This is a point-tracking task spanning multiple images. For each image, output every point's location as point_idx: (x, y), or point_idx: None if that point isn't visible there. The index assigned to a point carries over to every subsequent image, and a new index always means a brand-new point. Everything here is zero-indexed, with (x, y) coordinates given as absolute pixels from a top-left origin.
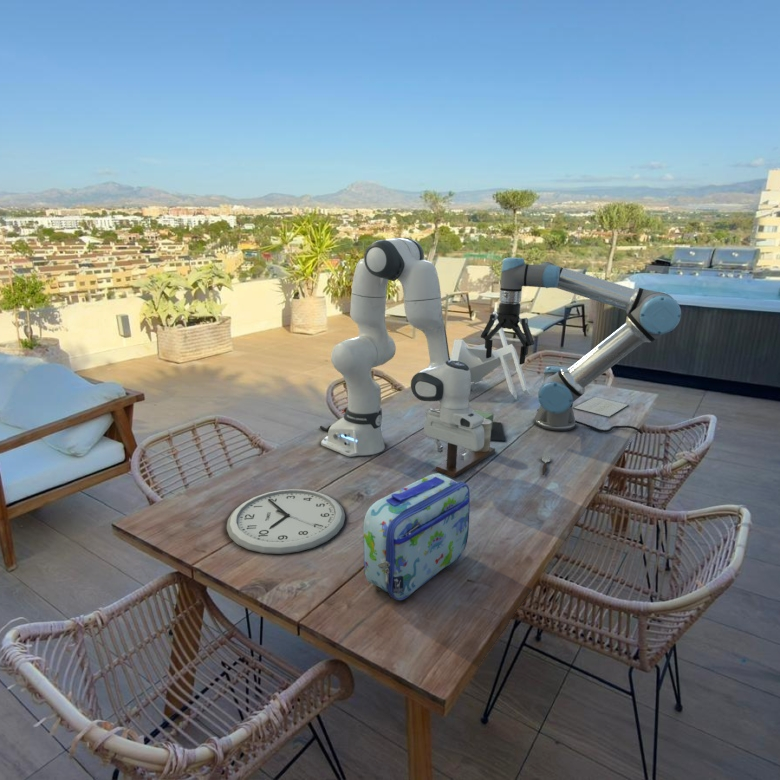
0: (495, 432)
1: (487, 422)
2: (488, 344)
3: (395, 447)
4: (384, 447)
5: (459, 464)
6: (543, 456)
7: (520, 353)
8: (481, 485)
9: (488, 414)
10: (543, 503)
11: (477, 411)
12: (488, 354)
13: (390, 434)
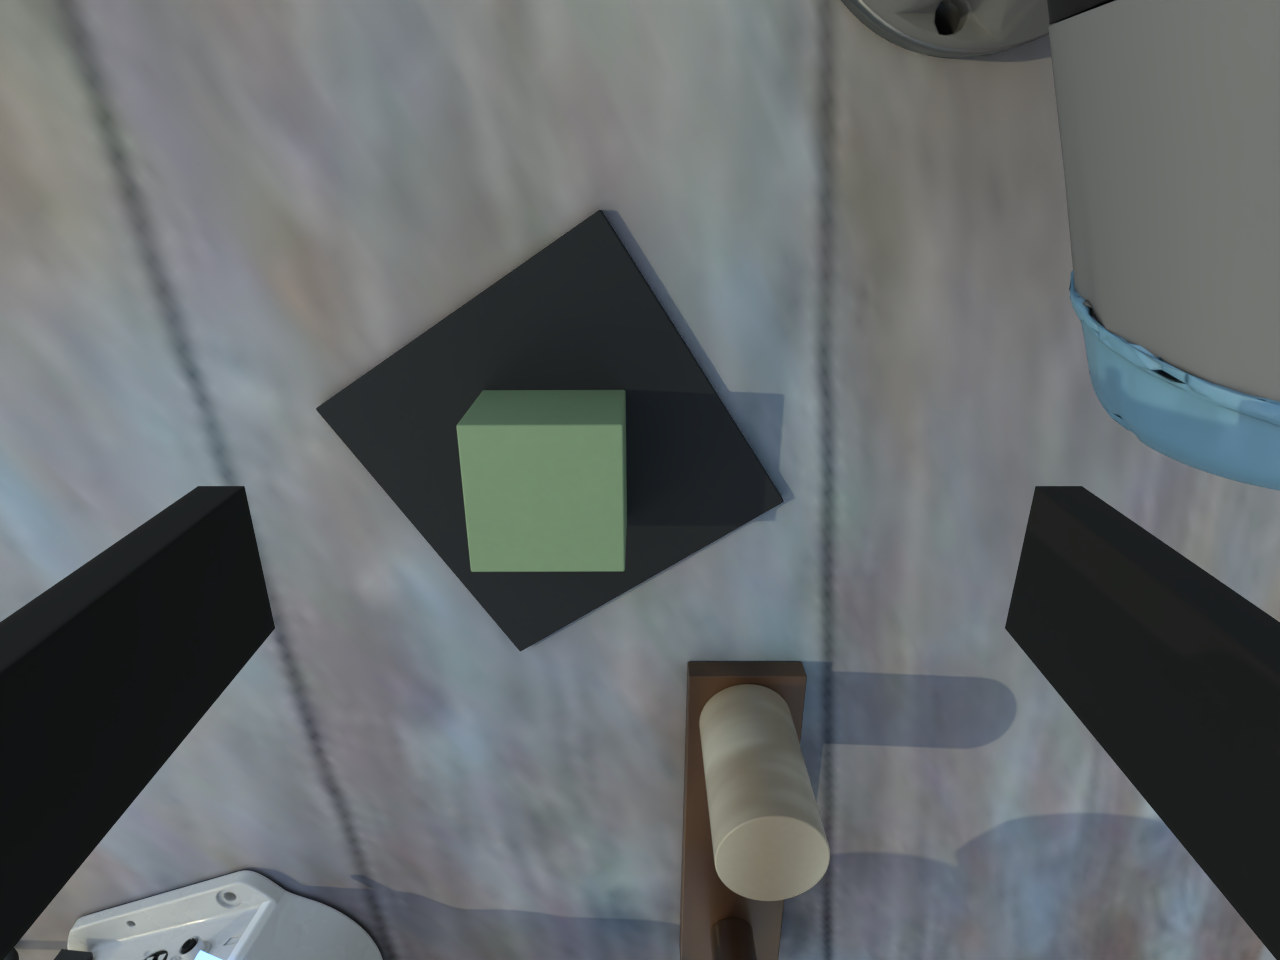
0: (672, 427)
1: (807, 863)
2: (50, 891)
3: (384, 888)
4: (360, 930)
5: (751, 904)
6: None
7: (1153, 800)
8: (894, 933)
9: (593, 454)
10: (1155, 911)
11: (486, 452)
12: (229, 654)
13: (237, 803)
